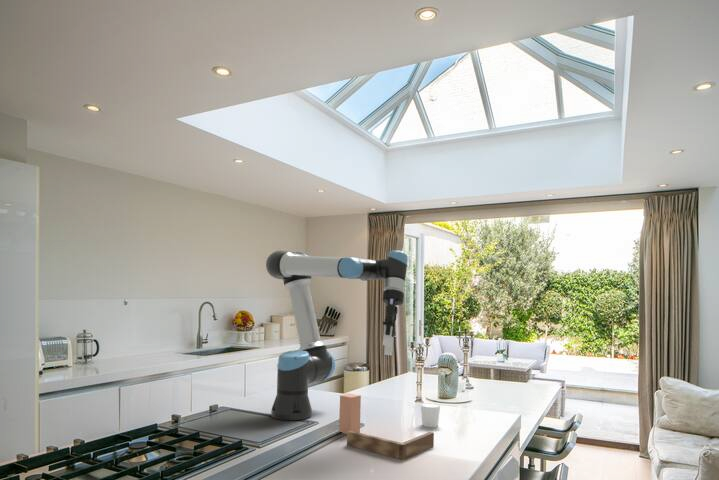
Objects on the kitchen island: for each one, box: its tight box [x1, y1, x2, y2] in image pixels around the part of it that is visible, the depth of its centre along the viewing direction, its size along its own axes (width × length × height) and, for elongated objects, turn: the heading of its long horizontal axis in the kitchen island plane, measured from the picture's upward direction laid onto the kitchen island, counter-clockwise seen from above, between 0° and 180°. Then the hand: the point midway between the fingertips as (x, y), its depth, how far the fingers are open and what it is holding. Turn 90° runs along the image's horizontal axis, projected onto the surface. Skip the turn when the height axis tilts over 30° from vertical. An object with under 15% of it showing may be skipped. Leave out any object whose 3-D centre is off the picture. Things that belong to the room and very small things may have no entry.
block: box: [338, 392, 362, 435], centre depth 173 cm, size 5×5×12 cm
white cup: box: [420, 403, 441, 428], centre depth 184 cm, size 7×7×7 cm
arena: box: [346, 431, 435, 461], centre depth 158 cm, size 20×18×4 cm
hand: (387, 350), depth 176 cm, fingers open, 13 cm apart
